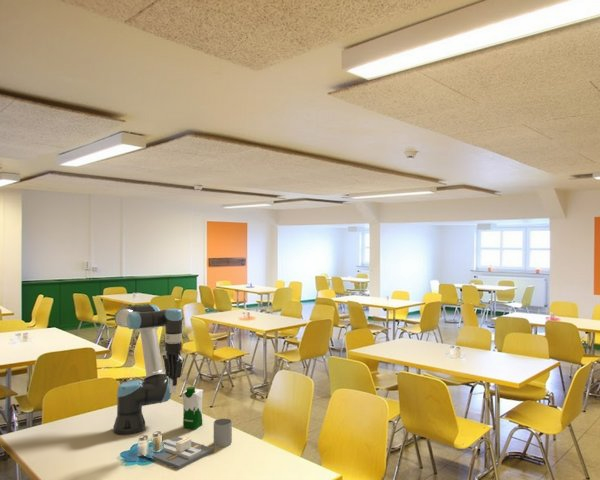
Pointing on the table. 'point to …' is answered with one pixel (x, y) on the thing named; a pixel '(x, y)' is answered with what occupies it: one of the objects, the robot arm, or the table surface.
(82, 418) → the table surface
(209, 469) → the table surface
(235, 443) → the table surface
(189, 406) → the milk carton
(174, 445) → the console
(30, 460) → the table surface
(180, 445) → the fader
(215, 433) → the cup
